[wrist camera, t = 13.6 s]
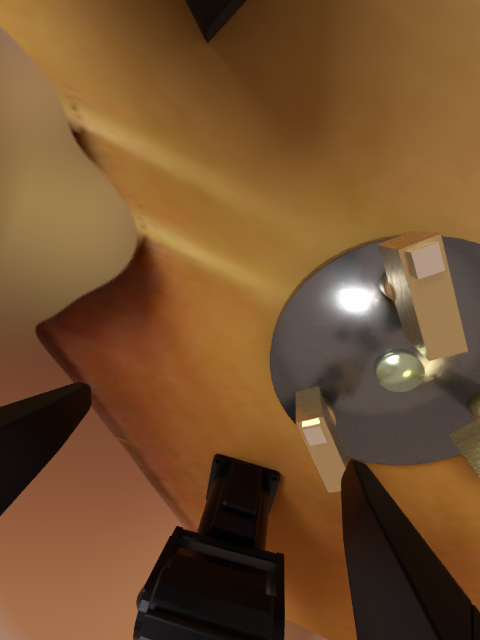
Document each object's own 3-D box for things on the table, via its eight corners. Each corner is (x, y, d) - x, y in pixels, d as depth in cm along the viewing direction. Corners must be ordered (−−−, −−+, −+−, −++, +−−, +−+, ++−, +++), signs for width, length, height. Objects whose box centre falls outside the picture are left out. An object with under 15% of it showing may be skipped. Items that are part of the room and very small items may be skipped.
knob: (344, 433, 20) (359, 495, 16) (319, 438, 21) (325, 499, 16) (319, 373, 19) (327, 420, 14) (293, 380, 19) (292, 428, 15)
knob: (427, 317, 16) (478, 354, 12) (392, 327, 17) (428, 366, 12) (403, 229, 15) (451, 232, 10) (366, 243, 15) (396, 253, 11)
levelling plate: (457, 473, 21) (474, 499, 19) (253, 417, 23) (249, 435, 21) (601, 265, 15) (649, 272, 13) (302, 211, 17) (303, 210, 15)
